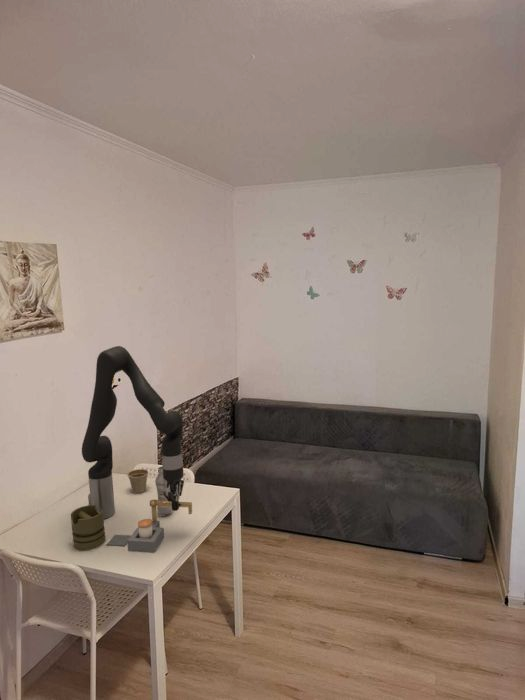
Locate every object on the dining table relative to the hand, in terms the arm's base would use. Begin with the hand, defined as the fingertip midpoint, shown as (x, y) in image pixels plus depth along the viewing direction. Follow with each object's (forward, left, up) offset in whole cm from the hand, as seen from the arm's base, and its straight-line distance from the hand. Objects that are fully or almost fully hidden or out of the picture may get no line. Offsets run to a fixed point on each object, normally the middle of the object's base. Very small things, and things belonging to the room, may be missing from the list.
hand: (175, 509), depth 182 cm
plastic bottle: (-11, +17, -11) cm, 22 cm away
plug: (-10, -6, -11) cm, 16 cm away
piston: (-32, -8, -11) cm, 34 cm away
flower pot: (-31, +36, -11) cm, 49 cm away
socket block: (-10, -4, -11) cm, 15 cm away
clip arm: (-3, +3, -2) cm, 5 cm away
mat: (-21, -6, -11) cm, 24 cm away
